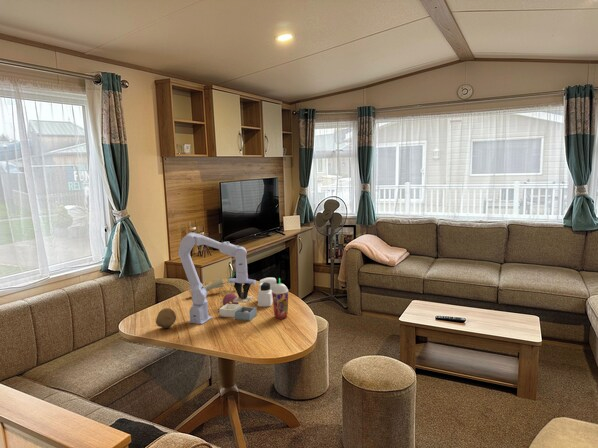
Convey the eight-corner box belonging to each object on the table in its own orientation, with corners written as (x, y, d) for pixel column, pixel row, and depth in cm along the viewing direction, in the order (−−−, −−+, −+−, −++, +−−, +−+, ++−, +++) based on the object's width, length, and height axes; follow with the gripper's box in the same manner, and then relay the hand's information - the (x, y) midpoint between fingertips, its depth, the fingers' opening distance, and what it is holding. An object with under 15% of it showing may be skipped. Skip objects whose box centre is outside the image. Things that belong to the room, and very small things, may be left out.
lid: (246, 303, 200) (246, 295, 200) (233, 302, 203) (232, 294, 202) (253, 298, 207) (252, 290, 207) (240, 297, 210) (239, 289, 209)
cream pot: (233, 317, 206) (233, 310, 205) (219, 316, 208) (219, 308, 208) (240, 312, 213) (240, 304, 213) (227, 310, 216) (226, 303, 215)
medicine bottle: (273, 302, 227) (272, 281, 225) (270, 306, 220) (269, 285, 218) (260, 302, 228) (259, 281, 226) (257, 306, 221) (256, 285, 219)
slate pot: (250, 321, 201) (249, 313, 200) (235, 319, 203) (235, 311, 203) (256, 315, 208) (256, 307, 208) (242, 313, 211) (242, 306, 210)
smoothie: (287, 320, 200) (285, 280, 197) (271, 319, 202) (269, 280, 199) (291, 313, 208) (289, 276, 205) (275, 313, 210) (273, 275, 207)
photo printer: (275, 296, 237) (274, 275, 235) (278, 298, 233) (277, 277, 231) (258, 299, 232) (257, 278, 231) (261, 301, 229) (260, 280, 227)
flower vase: (195, 307, 244) (248, 285, 259) (198, 307, 233) (253, 284, 247) (188, 289, 245) (241, 268, 259) (191, 288, 234) (246, 266, 248)
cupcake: (225, 311, 222) (231, 312, 212) (217, 298, 221) (223, 299, 211) (238, 302, 226) (245, 303, 216) (230, 289, 225) (237, 290, 215)
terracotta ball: (247, 317, 204) (247, 312, 203) (242, 317, 205) (242, 311, 204) (249, 315, 206) (249, 310, 206) (244, 315, 207) (244, 309, 207)
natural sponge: (180, 328, 195) (178, 308, 193) (162, 334, 189) (160, 313, 187) (171, 323, 201) (170, 304, 200) (154, 328, 195) (152, 309, 194)
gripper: (258, 269, 204) (259, 296, 206) (232, 268, 209) (233, 293, 211) (252, 273, 197) (253, 300, 199) (225, 272, 202) (227, 298, 204)
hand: (243, 297), depth 205 cm, fingers closed on lid, 2 cm apart
